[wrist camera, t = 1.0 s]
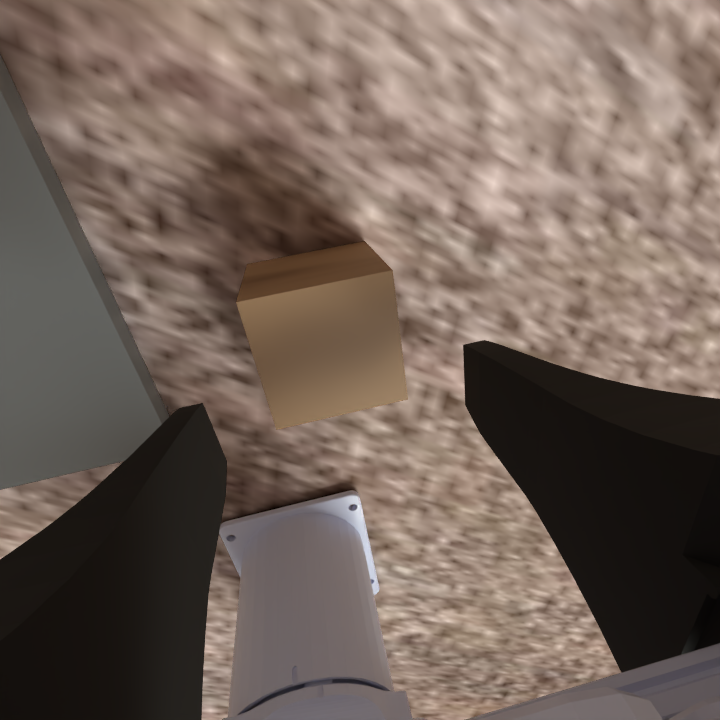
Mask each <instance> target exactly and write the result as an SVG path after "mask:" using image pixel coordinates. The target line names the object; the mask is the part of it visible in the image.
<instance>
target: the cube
mask: <svg viewBox="0 0 720 720" xmlns="http://www.w3.org/2000/svg"><path fill="white" fill-rule="evenodd" d="M236 304H237V307H238V310H239V313H240V317H241V320H242V323H243V326H244V329H245V332H246V335H247V339H248V342H249V345H250V348H251V351H252V354H253V357H254V361H255V364H256V367H257V370H258V373H259V376H260V379H261V383H262V386H263V389H264V392H265V395H266V398H267V402H268V405H269V408H270V411H271V414H272V417H273V420H274V424H275V427H276V430H278V429H283V428H287V427H291V426H296V425H300V424H304V423H308V422H313V421H317V420H321V419H326V418H330V417H334V416H338V415H343V414H347V413H351V412H356V411H360V410H364V409H369V408H373V407H377V406H381V405H386V404H390V403H394V402H399V401H403V400H407V399H408V396H407V387H406V379H405V370H404V362H403V354H402V345H401V337H400V328H399V320H398V312H397V303H396V295H395V286H394V278H393V270H392V269H391V268H390V267H389V266H388V265H387V264H386V263H385V262H384V261H383V260H382V259H381V258H380V257H379V256H378V255H377V254H376V253H375V251H374V250H373V249H372V248H371V247H370V246H369V245H368V244H367V243H366V242H365V241H362V242H357V243H352V244H347V245H342V246H337V247H332V248H327V249H322V250H317V251H311V252H306V253H301V254H296V255H291V256H286V257H281V258H276V259H271V260H266V261H261V262H256V263H251V264H247V267H246V270H245V273H244V277H243V280H242V284H241V287H240V290H239V294H238V297H237V301H236Z"/></svg>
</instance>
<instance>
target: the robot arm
mask: <svg viewBox="0 0 720 720" xmlns="http://www.w3.org/2000/svg"><path fill="white" fill-rule="evenodd" d="M463 350H464V379H465V405H466V407H467V409H468V411H469V413H470V415H471V417H472V419H473V421H474V423H475V425H476V426H477V428H478V430H479V432H480V434H481V435H482V436H483V438H484V439H485V441H486V442H487V443H488V445H489V446H490V448H491V449H492V450H493V452H494V453H495V455H496V456H497V457H498V459H499V460H500V461H501V463H502V464H503V465H504V467H505V468H506V469H507V471H508V472H509V474H510V475H511V476H512V478H513V479H514V480H515V482H516V483H517V484H518V486H519V487H520V488H521V490H522V491H523V493H524V494H525V495H526V497H527V498H528V500H529V501H530V503H531V504H532V506H533V507H534V509H535V510H536V512H537V514H538V516H539V517H540V519H541V521H542V522H543V524H544V526H545V528H546V529H547V531H548V533H549V534H550V536H551V538H552V540H553V541H554V543H555V545H556V547H557V548H558V550H559V552H560V554H561V556H562V557H563V559H564V561H565V563H566V565H567V567H568V568H569V570H570V572H571V574H572V576H573V577H574V579H575V581H576V583H577V585H578V587H579V589H580V591H581V593H582V595H583V596H584V598H585V600H586V602H587V604H588V606H589V608H590V610H591V612H592V614H593V616H594V618H595V620H596V621H597V623H598V625H599V627H600V629H601V631H602V634H603V636H604V638H605V640H606V642H607V644H608V646H609V648H610V650H611V652H612V654H613V656H614V658H615V660H616V662H617V664H618V666H619V668H620V670H621V672H622V673H619V674H616V675H612V676H609V677H606V678H602V679H599V680H596V681H592V682H589V683H586V684H582V685H579V686H576V687H572V688H569V689H566V690H562V691H559V692H556V693H552V694H549V695H546V696H542V697H539V698H536V699H532V700H529V701H526V702H522V703H519V704H516V705H512V706H509V707H506V708H502V709H499V710H496V711H492V712H489V713H486V714H482V715H479V716H476V717H472V718H469V719H466V720H720V399H716V398H708V397H700V396H692V395H685V394H678V393H672V392H666V391H660V390H653V389H648V388H643V387H638V386H633V385H629V384H624V383H620V382H615V381H611V380H607V379H603V378H599V377H595V376H591V375H588V374H584V373H581V372H578V371H574V370H571V369H568V368H565V367H562V366H559V365H555V364H552V363H550V362H547V361H544V360H541V359H538V358H535V357H533V356H530V355H527V354H524V353H522V352H519V351H516V350H513V349H511V348H508V347H505V346H502V345H499V344H496V343H493V342H489V341H485V340H483V341H479V342H474V343H470V344H465V345H463ZM226 475H227V461H226V458H225V456H224V453H223V451H222V448H221V446H220V444H219V441H218V439H217V436H216V434H215V432H214V429H213V427H212V424H211V422H210V419H209V417H208V415H207V412H206V410H205V407H204V405H203V403H200V404H196V405H191V406H187V407H182V408H179V409H178V410H177V411H175V412H174V413H173V414H172V415H171V416H170V417H169V418H168V419H167V420H166V421H165V422H164V423H163V424H162V425H161V426H160V427H159V428H158V429H157V430H156V431H155V432H154V433H153V434H152V435H151V436H150V437H149V438H148V439H147V440H146V441H145V442H144V443H142V444H141V445H140V446H139V447H138V448H137V449H136V450H135V451H134V452H133V453H132V454H131V455H130V456H129V457H128V458H127V459H126V460H125V461H124V462H123V463H122V464H121V465H120V466H119V467H118V468H116V469H115V470H114V471H113V472H112V473H111V474H110V475H109V476H108V477H107V478H106V479H104V480H103V481H102V482H101V483H100V484H99V485H98V486H97V487H96V488H95V489H93V490H92V491H91V492H90V493H89V494H88V495H87V496H85V497H84V498H83V499H82V500H80V501H79V502H78V503H77V504H76V505H74V506H73V507H72V508H71V509H69V510H68V511H67V512H66V513H64V514H63V515H62V516H60V517H59V518H58V519H57V520H55V521H54V522H53V523H51V524H50V525H49V526H47V527H46V528H45V529H43V530H42V531H41V532H39V533H38V534H36V535H35V536H33V537H32V538H31V539H29V540H28V541H26V542H25V543H23V544H22V545H21V546H19V547H18V548H16V549H15V550H13V551H12V552H11V553H9V554H8V555H6V556H5V557H3V558H2V559H1V560H0V720H201V715H202V684H203V665H204V647H205V631H206V618H207V605H208V593H209V586H210V579H211V573H212V567H213V562H214V557H215V551H216V546H217V540H218V535H219V534H220V536H221V538H222V540H223V542H224V545H225V547H226V549H227V551H228V553H229V555H230V557H231V559H232V561H233V564H234V566H235V568H236V570H237V572H238V574H239V576H240V578H241V579H240V590H239V601H238V611H237V622H236V633H235V644H234V655H233V665H232V676H231V687H230V698H229V709H228V718H223V719H222V720H427V719H425V718H422V717H418V718H412V715H411V711H410V706H409V702H408V698H407V693H406V691H394V688H393V683H392V678H391V674H390V669H389V664H388V660H387V655H386V650H385V645H384V641H383V636H382V631H381V627H380V622H379V617H378V612H377V608H376V603H375V598H374V595H375V594H376V593H378V591H379V584H378V580H377V575H376V570H375V566H374V561H373V557H372V552H371V547H370V543H369V538H368V533H367V529H366V524H365V520H364V515H363V510H362V506H361V501H360V497H359V494H358V492H356V491H353V490H351V491H346V492H342V493H338V494H334V495H330V496H326V497H322V498H318V499H314V500H310V501H305V502H301V503H297V504H293V505H289V506H285V507H281V508H277V509H273V510H269V511H265V512H261V513H257V514H253V515H249V516H245V517H241V518H237V519H233V520H229V521H225V522H223V523H222V524H221V519H222V513H223V507H224V502H225V496H226ZM352 504H355V505H353V506H350V505H352ZM220 524H221V525H220ZM230 535H233V536H230Z"/></svg>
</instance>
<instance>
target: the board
mask: <svg viewBox="0 0 720 720" xmlns="http://www.w3.org/2000/svg"><path fill="white" fill-rule="evenodd" d="M169 417H170V416H169V414H168V412H167V410H166V408H165V406H164V404H163V401H162V399H161V397H160V395H159V393H158V391H157V389H156V386H155V384H154V382H153V380H152V378H151V376H150V374H149V371H148V369H147V367H146V365H145V363H144V361H143V359H142V356H141V354H140V352H139V350H138V348H137V346H136V344H135V341H134V339H133V337H132V335H131V333H130V331H129V329H128V326H127V324H126V322H125V320H124V318H123V316H122V314H121V312H120V309H119V307H118V305H117V303H116V301H115V299H114V297H113V294H112V292H111V290H110V288H109V286H108V284H107V282H106V279H105V277H104V275H103V273H102V271H101V269H100V267H99V264H98V262H97V260H96V258H95V256H94V254H93V252H92V249H91V247H90V245H89V243H88V241H87V239H86V237H85V234H84V232H83V230H82V228H81V226H80V224H79V222H78V219H77V217H76V215H75V213H74V211H73V209H72V207H71V205H70V202H69V200H68V198H67V196H66V194H65V192H64V190H63V187H62V185H61V183H60V181H59V179H58V177H57V175H56V172H55V170H54V168H53V166H52V164H51V162H50V160H49V157H48V155H47V153H46V151H45V149H44V147H43V145H42V142H41V140H40V138H39V136H38V134H37V132H36V130H35V127H34V125H33V123H32V121H31V119H30V117H29V115H28V112H27V110H26V108H25V106H24V104H23V102H22V100H21V98H20V95H19V93H18V91H17V89H16V87H15V85H14V83H13V80H12V78H11V76H10V74H9V72H8V70H7V68H6V65H5V63H4V61H3V59H2V57H1V55H0V490H1V489H5V488H10V487H14V486H18V485H23V484H27V483H31V482H36V481H40V480H44V479H49V478H53V477H57V476H62V475H66V474H70V473H75V472H79V471H83V470H88V469H92V468H96V467H101V466H105V465H109V464H114V463H118V462H122V461H125V460H126V459H127V458H128V457H129V456H130V455H131V454H132V453H133V452H134V451H135V450H136V449H137V448H138V447H139V446H140V445H141V444H142V443H144V442H145V441H146V440H147V439H148V438H149V437H150V436H151V435H152V434H153V433H154V432H155V431H156V430H157V429H158V428H159V427H160V426H161V425H162V424H163V423H164V422H165V421H166V420H167V419H168V418H169Z"/></svg>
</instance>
